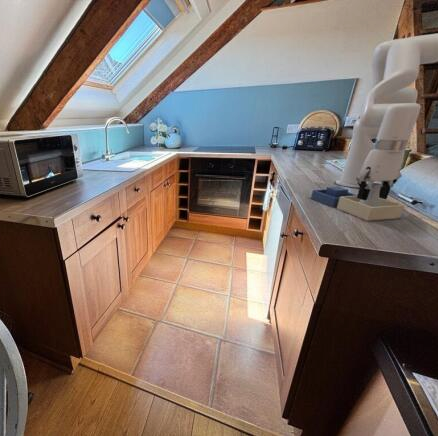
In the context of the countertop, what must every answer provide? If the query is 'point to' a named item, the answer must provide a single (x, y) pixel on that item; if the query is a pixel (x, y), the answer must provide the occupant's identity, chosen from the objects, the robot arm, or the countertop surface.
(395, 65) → the robot arm
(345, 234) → the countertop surface
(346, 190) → the blue block
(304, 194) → the countertop surface
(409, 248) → the countertop surface
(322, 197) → the blue bin
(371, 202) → the flask
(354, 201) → the cream bin
